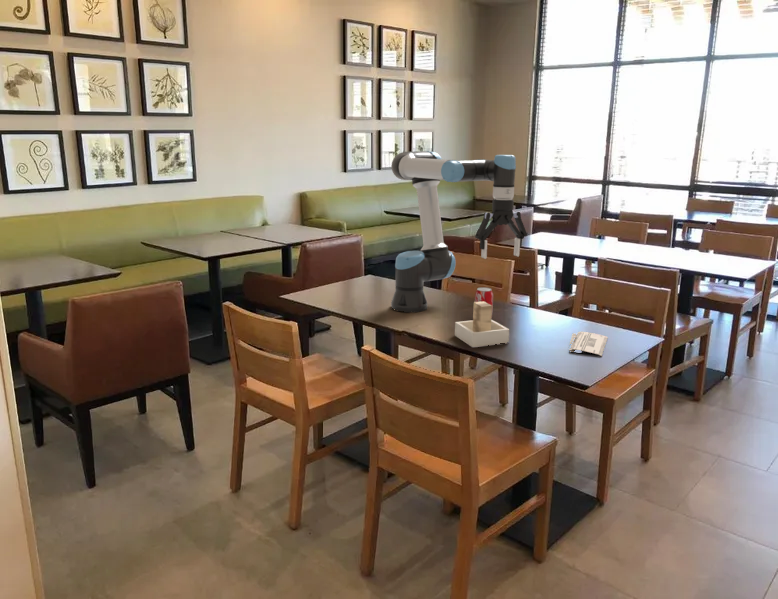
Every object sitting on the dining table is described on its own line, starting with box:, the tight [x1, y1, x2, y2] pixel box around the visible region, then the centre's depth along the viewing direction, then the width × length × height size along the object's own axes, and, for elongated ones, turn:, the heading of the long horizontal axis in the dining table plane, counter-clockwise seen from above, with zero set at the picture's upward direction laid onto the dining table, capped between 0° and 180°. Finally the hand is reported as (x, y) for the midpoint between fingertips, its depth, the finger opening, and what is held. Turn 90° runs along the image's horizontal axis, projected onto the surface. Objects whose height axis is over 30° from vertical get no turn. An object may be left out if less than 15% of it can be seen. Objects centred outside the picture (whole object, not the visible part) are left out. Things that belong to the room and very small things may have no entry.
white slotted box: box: [454, 319, 510, 348], centre depth 221 cm, size 14×14×5 cm
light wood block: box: [472, 301, 493, 332], centre depth 220 cm, size 6×4×12 cm, turn 20°
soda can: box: [474, 286, 494, 319], centre depth 245 cm, size 7×7×12 cm
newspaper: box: [568, 331, 609, 357], centre depth 216 cm, size 23×12×2 cm, turn 156°
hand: (500, 256), depth 230 cm, fingers open, 13 cm apart
